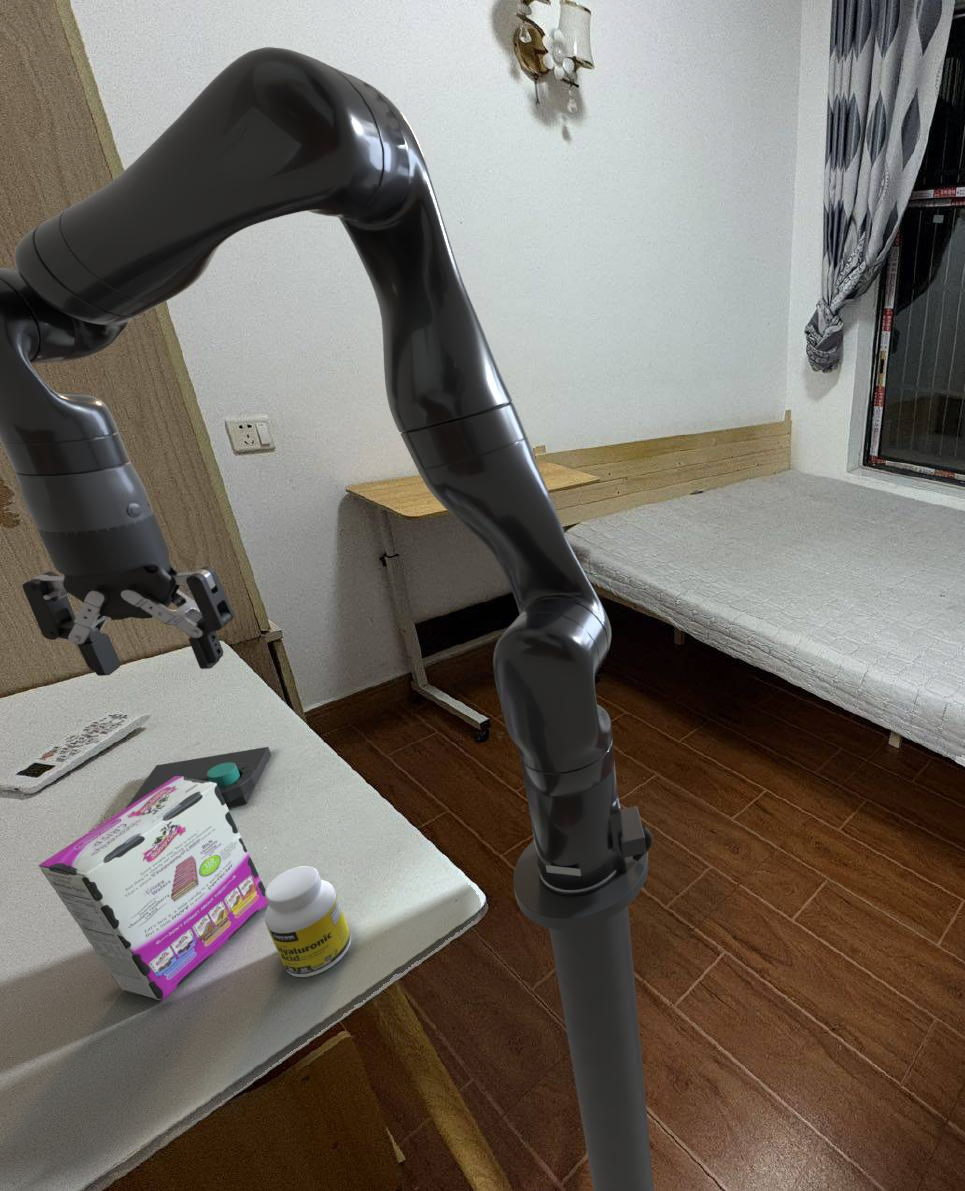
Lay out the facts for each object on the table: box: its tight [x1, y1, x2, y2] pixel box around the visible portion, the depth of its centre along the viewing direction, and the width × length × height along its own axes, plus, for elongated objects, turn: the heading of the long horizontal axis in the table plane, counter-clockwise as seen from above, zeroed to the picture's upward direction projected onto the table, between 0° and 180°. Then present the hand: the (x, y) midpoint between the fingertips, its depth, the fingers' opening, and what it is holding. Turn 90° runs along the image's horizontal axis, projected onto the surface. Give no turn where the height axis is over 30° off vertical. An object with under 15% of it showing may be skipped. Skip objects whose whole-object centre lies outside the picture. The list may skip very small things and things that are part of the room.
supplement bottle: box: [264, 865, 352, 978], centre depth 61 cm, size 5×5×10 cm
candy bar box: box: [38, 776, 268, 1001], centre depth 60 cm, size 11×5×16 cm, turn 170°
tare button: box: [207, 762, 240, 788], centre depth 80 cm, size 3×3×2 cm
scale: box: [124, 746, 272, 809], centre depth 81 cm, size 13×11×3 cm
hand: (161, 668), depth 65 cm, fingers open, 8 cm apart
